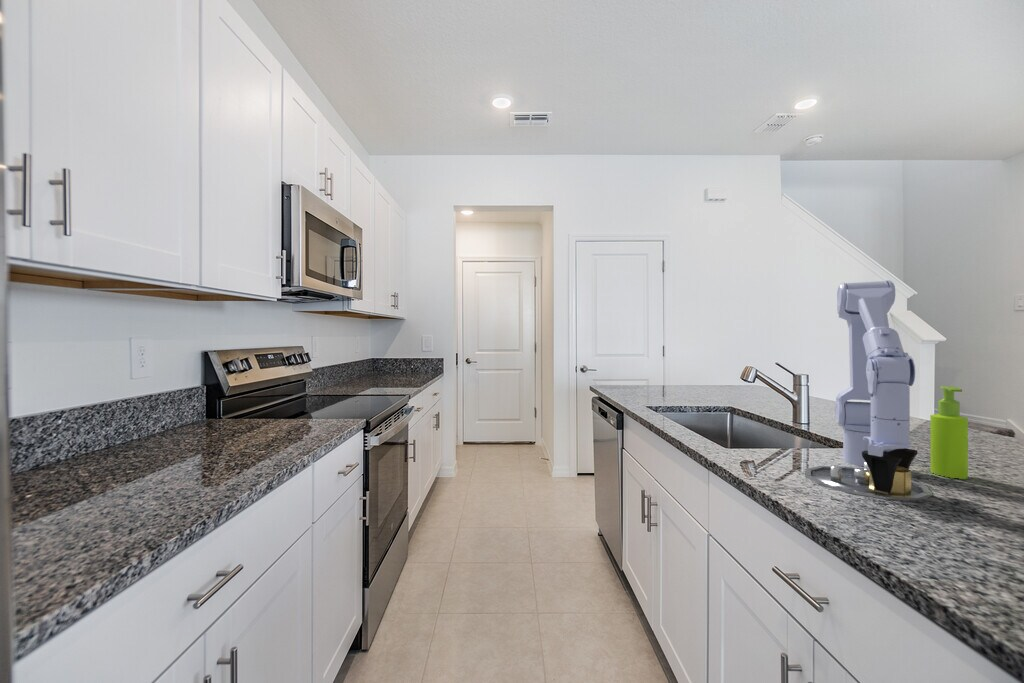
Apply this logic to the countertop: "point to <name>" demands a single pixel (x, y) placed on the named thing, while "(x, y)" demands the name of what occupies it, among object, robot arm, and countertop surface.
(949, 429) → the soap dispenser
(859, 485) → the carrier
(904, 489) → the gear
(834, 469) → the pin
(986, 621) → the countertop surface
